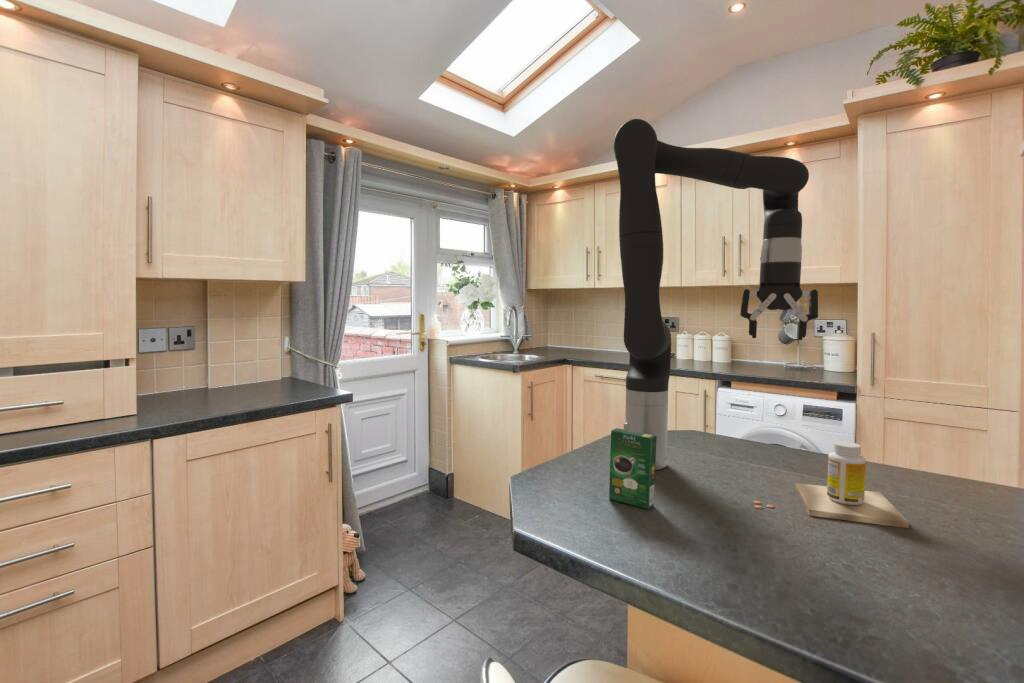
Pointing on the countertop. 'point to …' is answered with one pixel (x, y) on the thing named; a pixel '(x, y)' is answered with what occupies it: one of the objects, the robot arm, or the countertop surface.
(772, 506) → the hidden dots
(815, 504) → the oak board
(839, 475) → the supplement bottle
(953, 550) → the countertop surface
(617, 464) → the coffee box
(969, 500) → the countertop surface
